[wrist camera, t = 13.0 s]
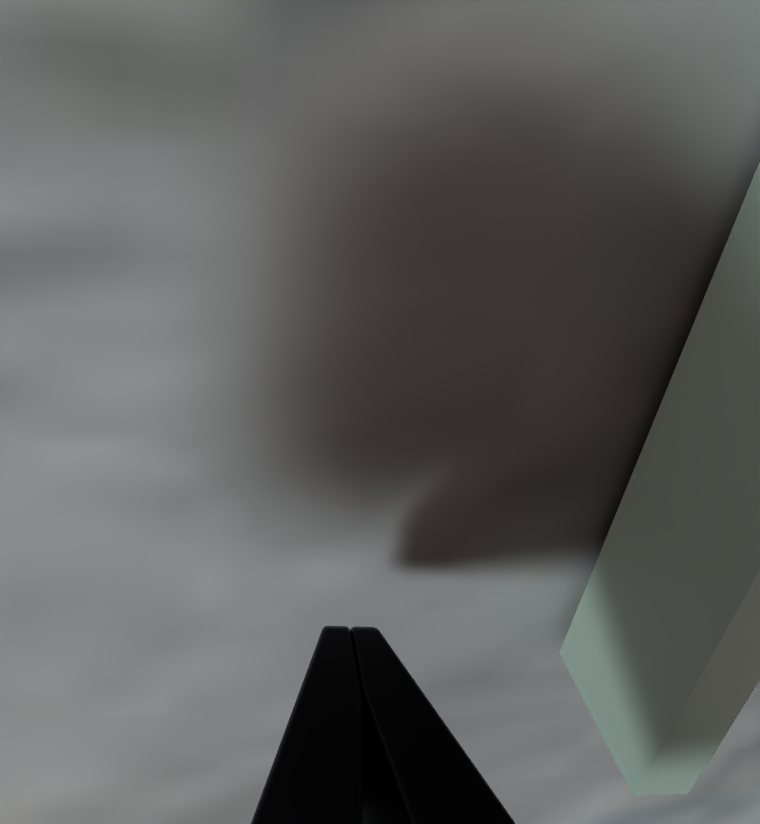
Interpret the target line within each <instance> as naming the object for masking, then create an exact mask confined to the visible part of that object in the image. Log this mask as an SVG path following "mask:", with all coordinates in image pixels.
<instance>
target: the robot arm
mask: <svg viewBox="0 0 760 824" xmlns="http://www.w3.org/2000/svg"><path fill="white" fill-rule="evenodd" d="M251 824H515V822H514V821H513V819H512V818H511V816H510V815H509V814H508V812H507V811H506V809H505V808H504V807H503V805H502V804H501V802H500V801H499V799H498V798H497V797H496V795H495V794H494V792H493V791H492V790H491V788H490V787H489V785H488V784H487V783H486V781H485V780H484V778H483V777H482V775H481V774H480V773H479V771H478V770H477V768H476V767H475V766H474V764H473V763H472V761H471V760H470V758H469V757H468V756H467V754H466V753H465V751H464V750H463V749H462V747H461V746H460V744H459V743H458V742H457V740H456V739H455V737H454V736H453V734H452V733H451V732H450V730H449V729H448V727H447V726H446V725H445V723H444V722H443V720H442V719H441V717H440V716H439V715H438V713H437V712H436V710H435V709H434V708H433V706H432V705H431V703H430V702H429V700H428V699H427V698H426V696H425V695H424V693H423V692H422V691H421V689H420V688H419V686H418V685H417V684H416V682H415V681H414V679H413V678H412V676H411V675H410V674H409V672H408V671H407V669H406V668H405V667H404V665H403V664H402V662H401V661H400V659H399V658H398V657H397V655H396V654H395V652H394V651H393V650H392V648H391V647H390V645H389V644H388V643H387V641H386V640H385V638H384V637H383V635H382V634H381V633H380V631H379V630H378V629H377V628H375V627H353V628H351V630H350V629H349V628H348V627H346V626H325V627H324V628H323V630H322V632H321V635H320V637H319V640H318V643H317V645H316V648H315V651H314V654H313V656H312V659H311V662H310V664H309V667H308V670H307V673H306V675H305V678H304V681H303V683H302V686H301V689H300V692H299V694H298V697H297V700H296V702H295V705H294V708H293V711H292V713H291V716H290V719H289V722H288V724H287V727H286V730H285V732H284V735H283V738H282V741H281V743H280V746H279V749H278V751H277V754H276V757H275V760H274V762H273V765H272V768H271V770H270V773H269V776H268V779H267V781H266V784H265V787H264V789H263V792H262V795H261V798H260V800H259V803H258V806H257V808H256V811H255V814H254V817H253V819H252V822H251Z"/></svg>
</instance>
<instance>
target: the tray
mask: <svg viewBox="0 0 760 824" xmlns="http://www.w3.org/2000/svg"><path fill="white" fill-rule="evenodd" d="M559 654H560V655H561V657H562V659H563V661H564V663H565V665H566V667H567V669H568V671H569V673H570V675H571V677H572V679H573V681H574V683H575V684H576V686H577V688H578V690H579V692H580V694H581V696H582V698H583V700H584V702H585V704H586V706H587V708H588V710H589V712H590V714H591V715H592V717H593V719H594V721H595V723H596V725H597V727H598V729H599V731H600V733H601V735H602V737H603V739H604V741H605V743H606V744H607V746H608V748H609V750H610V752H611V754H612V756H613V758H614V760H615V762H616V764H617V766H618V768H619V770H620V772H621V773H622V775H623V777H624V779H625V781H626V783H627V785H628V787H629V789H630V791H631V793H632V795H633V796H653V795H680V794H689V793H690V791H691V789H692V788H693V786H694V785H695V783H696V781H697V780H698V778H699V777H700V775H701V773H702V772H703V770H704V769H705V767H706V765H707V764H708V762H709V760H710V759H711V757H712V756H713V754H714V752H715V751H716V749H717V748H718V746H719V744H720V743H721V741H722V740H723V738H724V736H725V735H726V733H727V731H728V730H729V728H730V727H731V725H732V723H733V722H734V720H735V719H736V717H737V715H738V714H739V712H740V710H741V709H742V707H743V706H744V704H745V702H746V701H747V699H748V698H749V696H750V694H751V693H752V691H753V690H754V688H760V162H759V164H758V167H757V169H756V172H755V174H754V177H753V179H752V181H751V184H750V186H749V189H748V191H747V194H746V196H745V199H744V201H743V204H742V206H741V208H740V211H739V213H738V216H737V218H736V221H735V223H734V226H733V228H732V230H731V233H730V235H729V238H728V240H727V243H726V245H725V248H724V250H723V253H722V255H721V257H720V260H719V262H718V265H717V267H716V270H715V272H714V275H713V277H712V280H711V282H710V284H709V287H708V289H707V292H706V294H705V297H704V299H703V302H702V304H701V306H700V309H699V311H698V314H697V316H696V319H695V321H694V324H693V326H692V329H691V331H690V333H689V336H688V338H687V341H686V343H685V346H684V348H683V351H682V353H681V355H680V358H679V360H678V363H677V365H676V368H675V370H674V373H673V375H672V378H671V380H670V382H669V385H668V387H667V390H666V392H665V395H664V397H663V400H662V402H661V404H660V407H659V409H658V412H657V414H656V417H655V419H654V422H653V424H652V427H651V429H650V431H649V434H648V436H647V439H646V441H645V444H644V446H643V449H642V451H641V454H640V456H639V458H638V461H637V463H636V466H635V468H634V471H633V473H632V476H631V478H630V480H629V483H628V485H627V488H626V490H625V493H624V495H623V498H622V500H621V503H620V505H619V507H618V510H617V512H616V515H615V517H614V520H613V522H612V525H611V527H610V529H609V532H608V534H607V537H606V539H605V542H604V544H603V547H602V549H601V552H600V554H599V556H598V559H597V561H596V564H595V566H594V569H593V571H592V574H591V576H590V579H589V581H588V583H587V586H586V588H585V591H584V593H583V596H582V598H581V601H580V603H579V605H578V608H577V610H576V613H575V615H574V618H573V620H572V623H571V625H570V628H569V630H568V632H567V635H566V637H565V640H564V642H563V645H562V647H561V650H560V652H559Z"/></svg>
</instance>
